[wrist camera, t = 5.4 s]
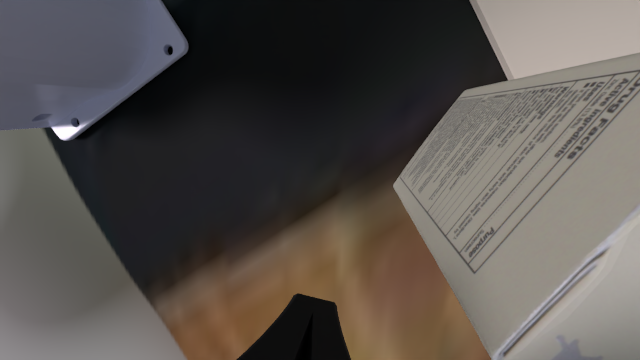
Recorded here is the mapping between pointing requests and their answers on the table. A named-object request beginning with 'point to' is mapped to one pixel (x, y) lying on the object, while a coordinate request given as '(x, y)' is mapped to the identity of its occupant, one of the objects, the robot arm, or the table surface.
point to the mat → (558, 32)
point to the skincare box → (539, 211)
